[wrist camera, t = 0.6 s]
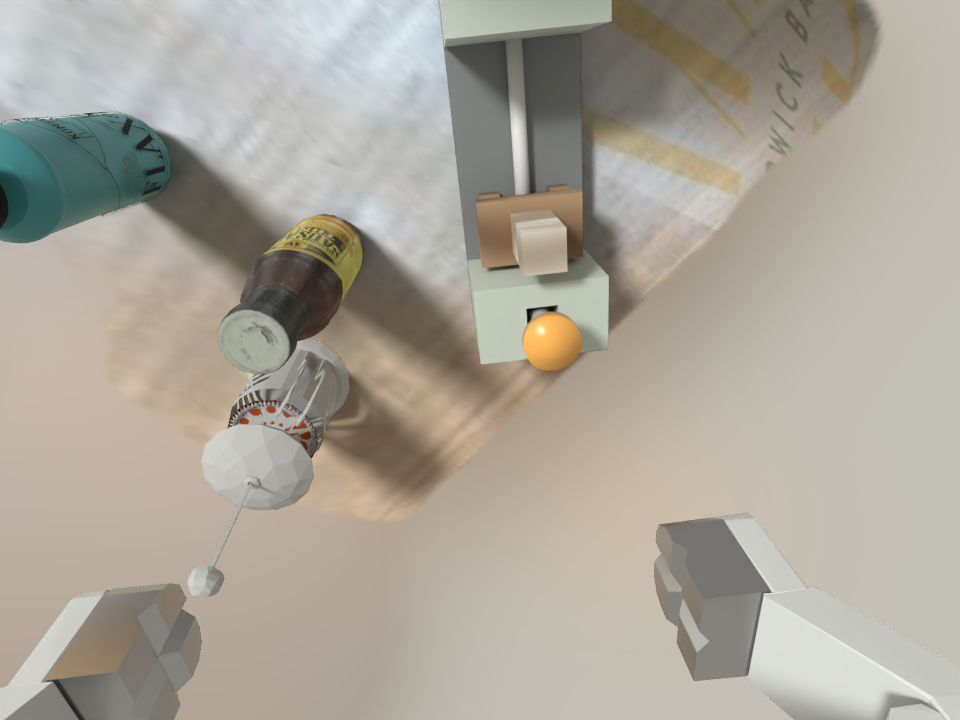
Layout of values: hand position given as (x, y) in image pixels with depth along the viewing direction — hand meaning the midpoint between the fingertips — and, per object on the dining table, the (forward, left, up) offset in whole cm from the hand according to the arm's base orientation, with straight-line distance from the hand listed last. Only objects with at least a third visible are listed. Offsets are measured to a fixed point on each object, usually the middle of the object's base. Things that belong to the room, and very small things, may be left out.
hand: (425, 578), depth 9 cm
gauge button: (+9, +7, -33) cm, 35 cm away
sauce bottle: (+4, -10, -41) cm, 43 cm away
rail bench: (-1, +7, -41) cm, 42 cm away
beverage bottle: (-5, -23, -41) cm, 48 cm away
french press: (+16, -15, -41) cm, 47 cm away
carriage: (+3, +7, -39) cm, 40 cm away
